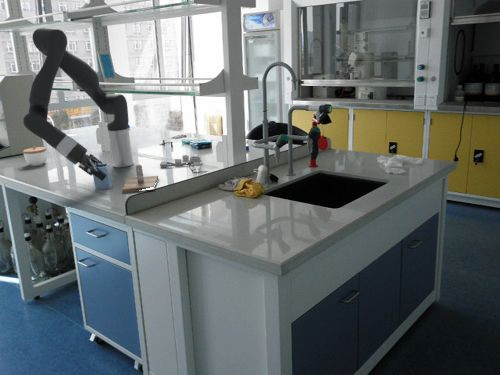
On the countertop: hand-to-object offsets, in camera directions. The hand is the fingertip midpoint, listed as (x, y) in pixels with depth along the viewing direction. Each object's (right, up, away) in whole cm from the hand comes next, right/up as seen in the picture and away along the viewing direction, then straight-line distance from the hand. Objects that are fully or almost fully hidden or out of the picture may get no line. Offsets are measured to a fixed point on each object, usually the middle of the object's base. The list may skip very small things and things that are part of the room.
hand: (106, 176), depth 183 cm
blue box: (-1, -4, +1) cm, 5 cm away
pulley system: (+29, +4, +26) cm, 39 cm away
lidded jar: (-50, +7, +49) cm, 71 cm away
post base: (+14, -4, 0) cm, 14 cm away
